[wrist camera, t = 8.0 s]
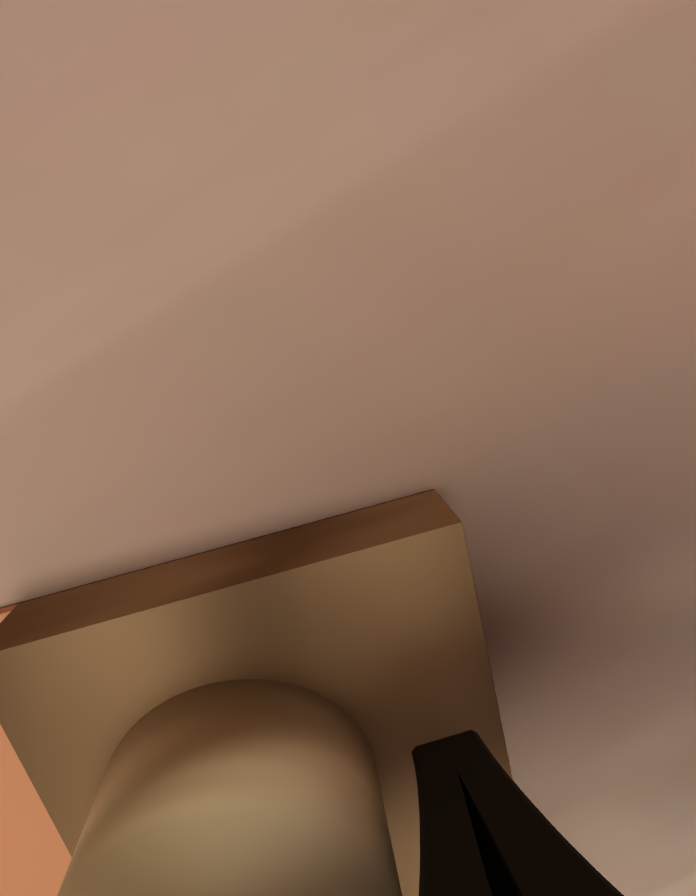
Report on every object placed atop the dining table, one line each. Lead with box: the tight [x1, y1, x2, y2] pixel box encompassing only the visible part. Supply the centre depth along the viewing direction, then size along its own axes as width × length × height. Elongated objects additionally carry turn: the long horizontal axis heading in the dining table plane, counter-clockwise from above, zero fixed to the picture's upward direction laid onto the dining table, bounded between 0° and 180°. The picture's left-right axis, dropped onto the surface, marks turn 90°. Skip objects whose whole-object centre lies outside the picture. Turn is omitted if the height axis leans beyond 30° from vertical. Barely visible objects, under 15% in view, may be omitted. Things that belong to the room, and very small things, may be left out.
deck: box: [0, 490, 512, 896], centre depth 14 cm, size 10×18×2 cm, turn 14°
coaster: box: [57, 679, 402, 896], centre depth 10 cm, size 6×6×3 cm
